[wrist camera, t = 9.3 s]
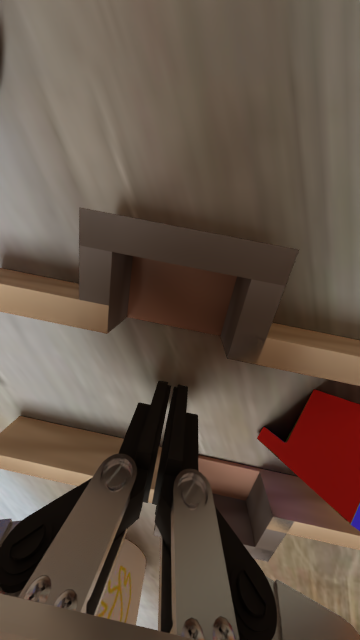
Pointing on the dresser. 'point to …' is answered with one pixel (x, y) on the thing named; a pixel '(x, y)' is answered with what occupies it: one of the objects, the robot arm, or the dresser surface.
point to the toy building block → (325, 451)
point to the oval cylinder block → (124, 586)
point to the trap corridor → (193, 314)
